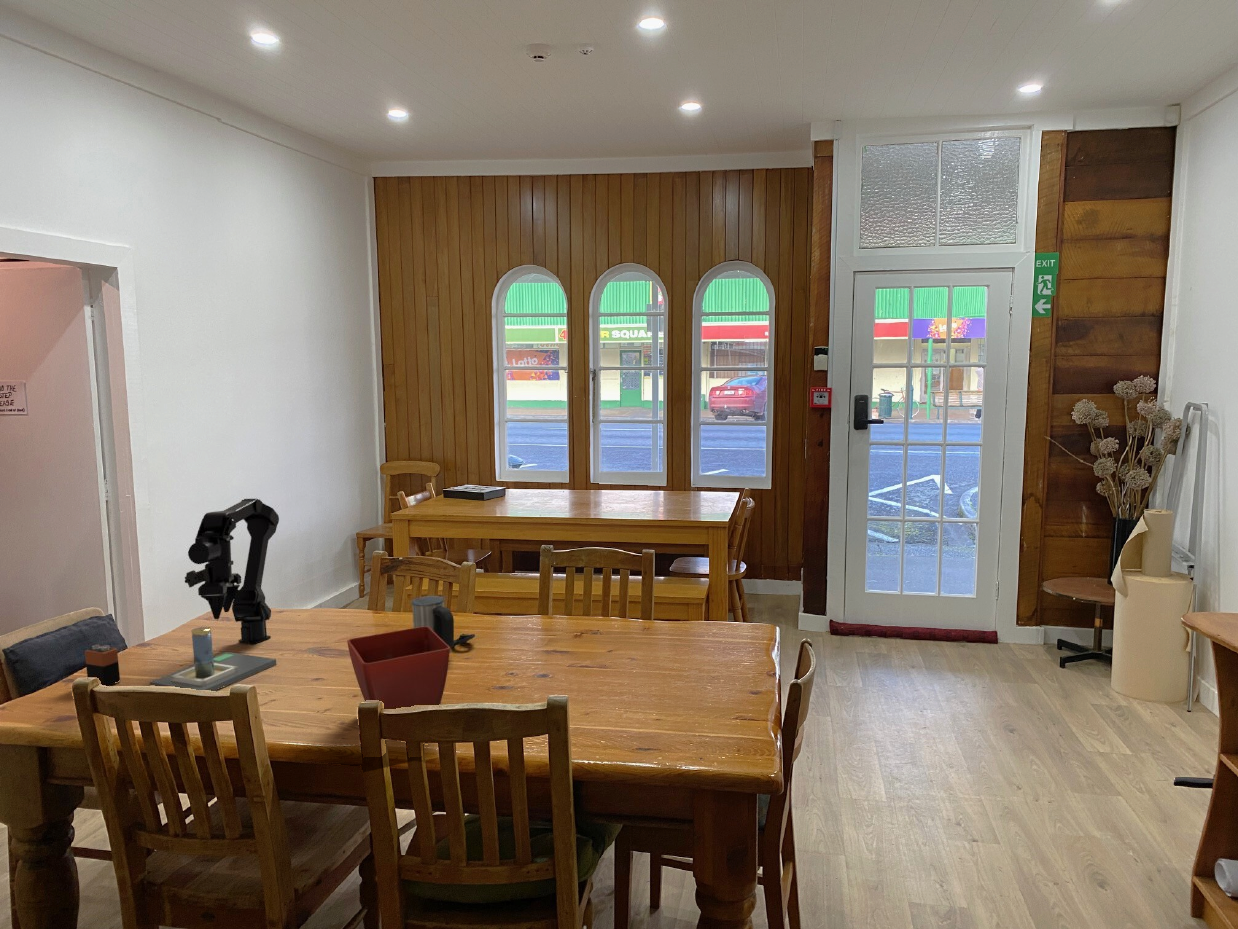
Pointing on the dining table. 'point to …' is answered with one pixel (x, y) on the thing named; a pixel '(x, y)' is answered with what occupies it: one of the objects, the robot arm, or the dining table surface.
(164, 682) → the tester board
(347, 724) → the dining table surface
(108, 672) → the battery
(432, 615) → the milk frother
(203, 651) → the cell
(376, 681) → the plant pot
